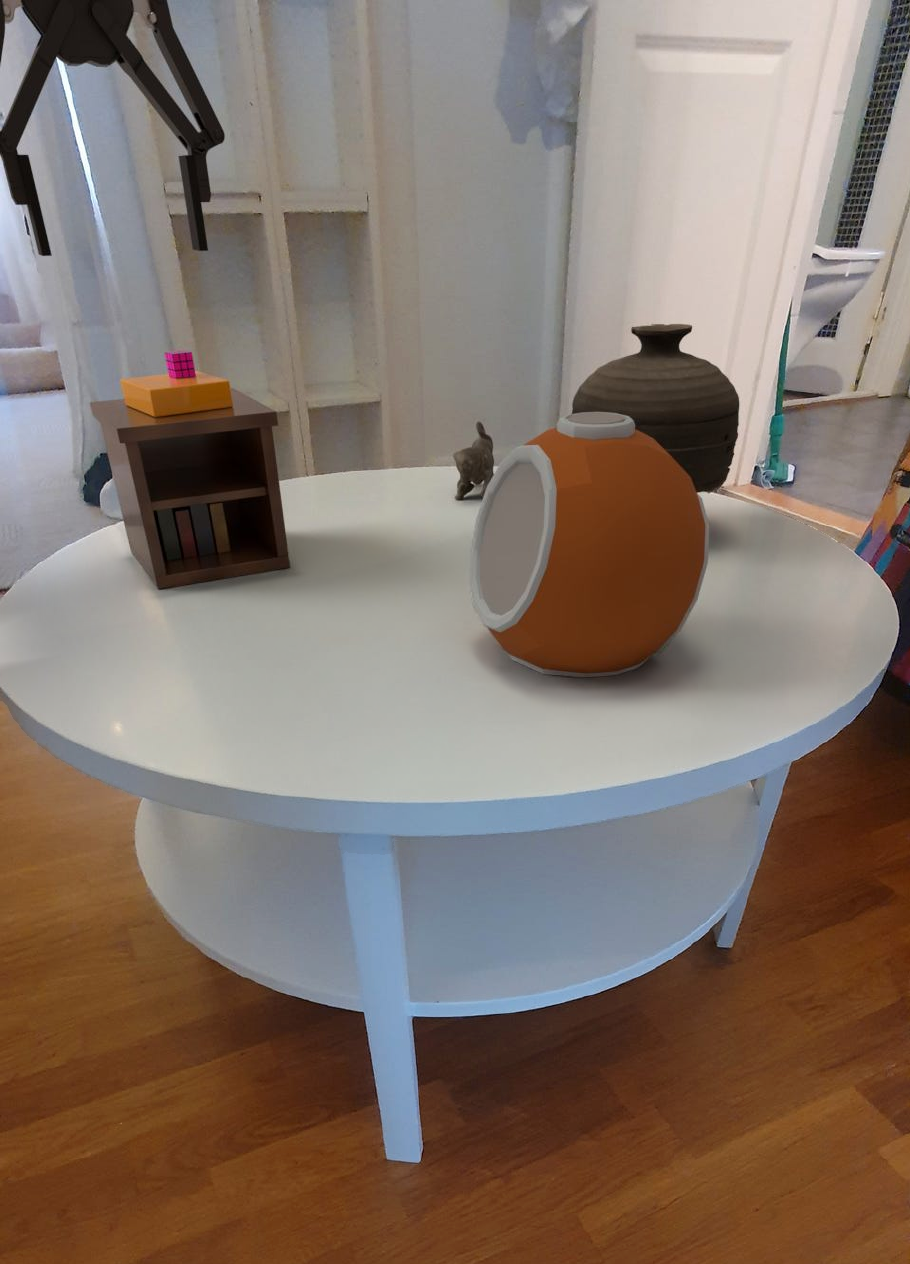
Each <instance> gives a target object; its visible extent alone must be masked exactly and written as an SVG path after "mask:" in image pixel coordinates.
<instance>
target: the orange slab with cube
mask: <svg viewBox="0 0 910 1264" xmlns="http://www.w3.org/2000/svg"><path fill="white" fill-rule="evenodd" d="M164 358H165V362H166V363H165V364H166V367H167V373H165V374H155V375H147V376H137V377H130V378H121V379H120V386H121V391H122V395H123V399H125V404H126V405H127V406H129V407H131V408H134V409H136V410H139V411H141V412H144V413H146V414H148V415H151V416H153V417H163V416H170V415H177V414H185V413H192V412H200V411H207V410H214V409H222V408H229V407H233V402H232V395H231V382H230V380H228V379H225V378H222V377H220V376H216V375H212V374H208V373H206V372H201V371H199V370H195V369H196V368H195V363H194V359H193V358H194V357H193V352H192V351H190V350H189V351H188V350H184V349H181V350H171V351H165V352H164Z"/></svg>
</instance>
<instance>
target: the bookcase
mask: <svg viewBox="0 0 910 1264" xmlns="http://www.w3.org/2000/svg"><path fill="white" fill-rule="evenodd" d="M230 389H231V395H232V402H233V407H229V408H222V409H214V410H207V411H200V412H192V413H185V414H177V415H170V416H163V417H153V416H151V415H148V414H146V413H144V412H141V411H139V410H136V409H134V408H131V407H129V406H127V405H126V404H125V399H124V398H120V399H109V400H100V401H99V400H98V401H90V402H89V407H90V410H91V414H92V417H93V418H95V419H96V420H97V422H98V423H99V424H100V428H101V432H102V437H103V441H104V444H105V449H106V453H107V457H108V462H109V465H110V471H111V475H112V478H113V482H114V487H115V491H116V495H117V499H118V502H119V507H120V511H121V516H122V520H123V524H124V528H125V533H126V537H127V540H128V545H129V549H130V552H131V554H132V555H133V557H134V558H135V559H136V561H137V562H138V564H139V565H140V566H141V568H142V569H143V571H144V572H145V574H147V576H148V578H149V579H150V580H151V582H152V583H153V585H154V586H155V587H156V589H157V590H163V589H169V588H174V587H180V586H188V585H193V584H199V583H205V582H211V581H216V580H223V579H229V578H235V577H241V576H246V575H253V574H259V573H265V572H270V571H271V572H272V571H277V570H283V569H288V568H291V562H290V556H289V554H290V553H289V547H288V539H287V532H286V524H285V517H284V516H285V515H284V509H283V502H282V494H281V486H280V478H279V470H278V463H277V456H276V454H277V453H276V447H275V439H274V432H273V427H277V426H279V420H278V412H277V411H276V410H275V409H273V408H271V407H268V406H267V405H265V404H263V403H261V402H260V401H258V400H256V399H254V398H252V397H250V396H249V395H247V394H245V393H243V392H241V391H240V390H237V389H236V388H234V387H233V388H231V387H230Z"/></svg>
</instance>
